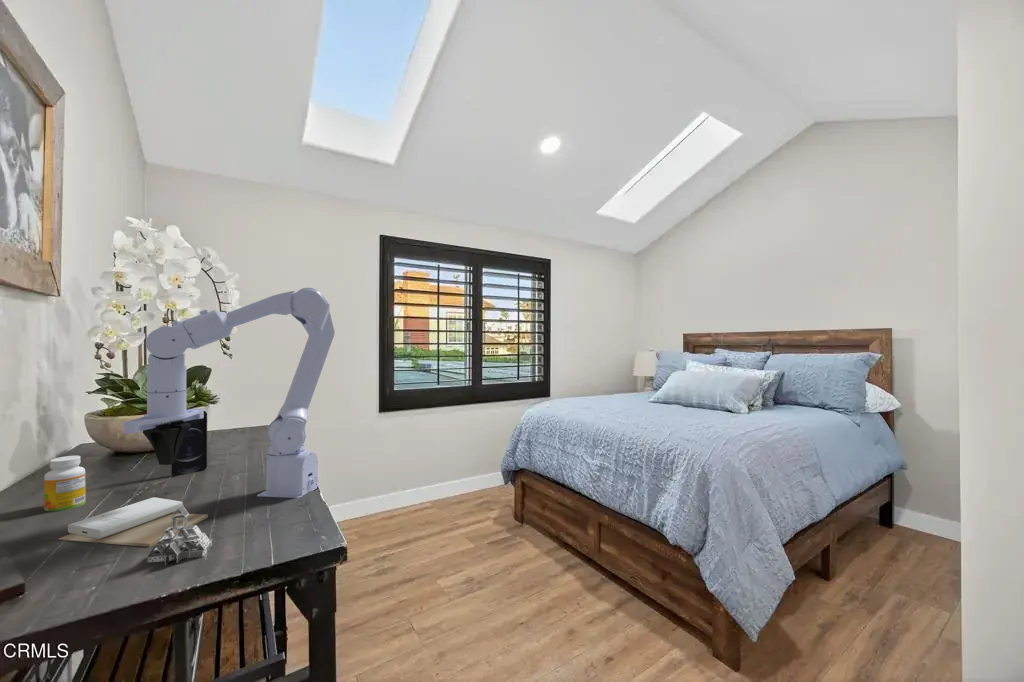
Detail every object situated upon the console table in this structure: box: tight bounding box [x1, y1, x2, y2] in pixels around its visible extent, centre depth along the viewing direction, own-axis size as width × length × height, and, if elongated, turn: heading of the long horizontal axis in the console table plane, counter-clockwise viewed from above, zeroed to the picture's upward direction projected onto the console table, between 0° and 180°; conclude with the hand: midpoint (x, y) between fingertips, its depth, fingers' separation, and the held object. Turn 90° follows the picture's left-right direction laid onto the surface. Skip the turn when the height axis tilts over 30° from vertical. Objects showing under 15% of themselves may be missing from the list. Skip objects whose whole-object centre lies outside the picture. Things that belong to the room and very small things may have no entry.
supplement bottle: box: [43, 455, 86, 512], centre depth 80 cm, size 5×5×10 cm
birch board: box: [58, 512, 209, 548], centre depth 71 cm, size 16×11×1 cm
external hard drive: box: [67, 497, 184, 539], centre depth 73 cm, size 2×8×12 cm
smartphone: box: [169, 410, 208, 478], centre depth 101 cm, size 8×1×15 cm, turn 148°
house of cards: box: [146, 504, 213, 566], centre depth 61 cm, size 9×9×8 cm
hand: (167, 463), depth 79 cm, fingers closed
